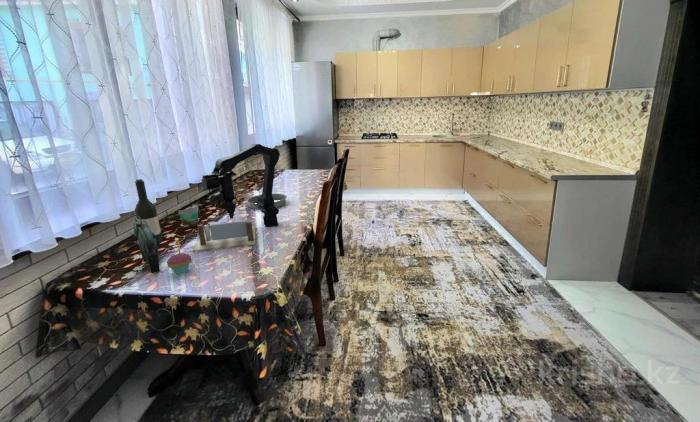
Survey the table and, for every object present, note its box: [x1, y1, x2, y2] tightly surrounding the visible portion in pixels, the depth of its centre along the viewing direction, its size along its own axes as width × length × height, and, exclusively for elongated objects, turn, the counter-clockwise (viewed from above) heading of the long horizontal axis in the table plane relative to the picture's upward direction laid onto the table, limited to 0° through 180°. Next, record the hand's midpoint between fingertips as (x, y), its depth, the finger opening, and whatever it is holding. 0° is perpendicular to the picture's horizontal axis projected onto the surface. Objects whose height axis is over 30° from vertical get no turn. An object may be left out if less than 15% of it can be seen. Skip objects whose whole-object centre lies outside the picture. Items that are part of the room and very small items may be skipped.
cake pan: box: [246, 193, 288, 211], centre depth 222 cm, size 25×25×4 cm
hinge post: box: [196, 223, 206, 245], centre depth 157 cm, size 2×2×9 cm
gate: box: [203, 220, 247, 241], centre depth 159 cm, size 18×2×7 cm, turn 104°
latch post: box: [245, 219, 254, 241], centre depth 160 cm, size 3×3×9 cm
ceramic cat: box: [132, 216, 161, 274], centre depth 139 cm, size 20×6×20 cm, turn 37°
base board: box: [192, 225, 257, 253], centre depth 166 cm, size 26×24×1 cm
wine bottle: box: [134, 178, 163, 245], centre depth 162 cm, size 8×8×30 cm
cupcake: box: [166, 240, 192, 275], centre depth 133 cm, size 9×8×12 cm
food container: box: [177, 203, 200, 229], centre depth 187 cm, size 12×6×10 cm, turn 168°
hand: (231, 218), depth 168 cm, fingers closed
